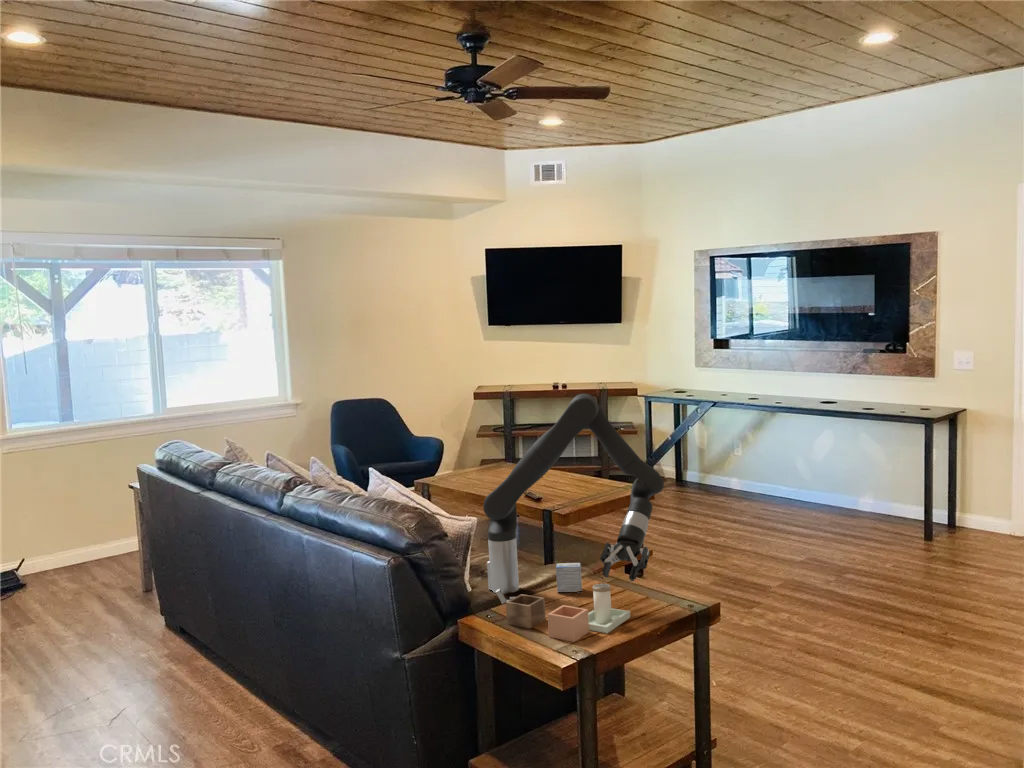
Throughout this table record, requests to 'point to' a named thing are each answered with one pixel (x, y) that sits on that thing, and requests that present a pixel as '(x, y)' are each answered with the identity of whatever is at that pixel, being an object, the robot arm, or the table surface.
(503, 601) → the lighter
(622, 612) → the sage tray
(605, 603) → the cream canister
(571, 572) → the medicine box
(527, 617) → the brown open square box
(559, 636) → the pink square bin
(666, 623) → the table surface
